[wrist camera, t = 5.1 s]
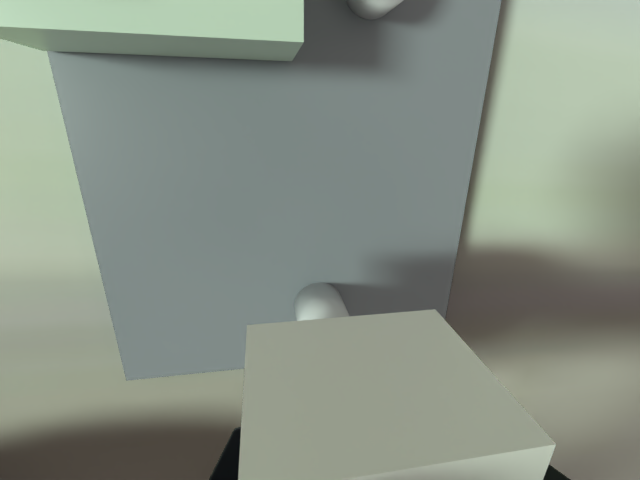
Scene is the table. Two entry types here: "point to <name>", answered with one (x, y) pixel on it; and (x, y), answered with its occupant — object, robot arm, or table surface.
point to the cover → (158, 27)
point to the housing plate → (278, 176)
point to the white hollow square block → (379, 405)
